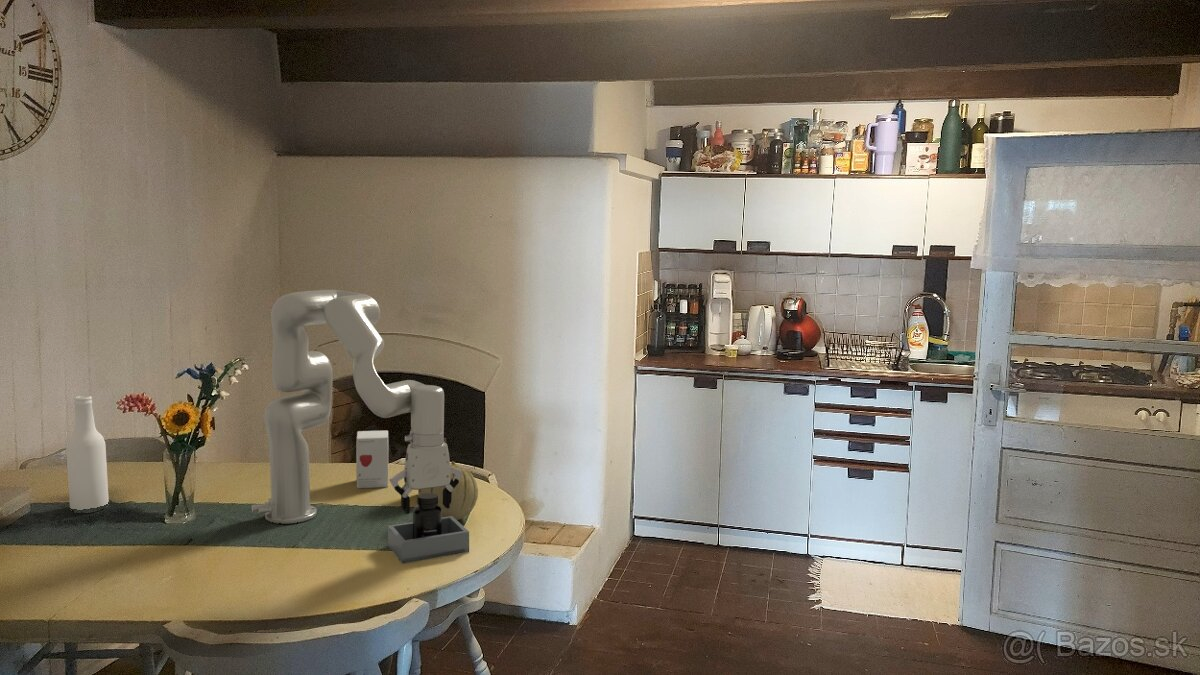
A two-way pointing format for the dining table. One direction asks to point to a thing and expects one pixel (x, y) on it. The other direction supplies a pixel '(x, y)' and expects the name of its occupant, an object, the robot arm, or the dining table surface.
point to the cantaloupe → (458, 495)
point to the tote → (428, 541)
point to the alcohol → (86, 460)
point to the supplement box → (372, 459)
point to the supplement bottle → (427, 516)
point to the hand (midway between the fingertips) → (426, 509)
